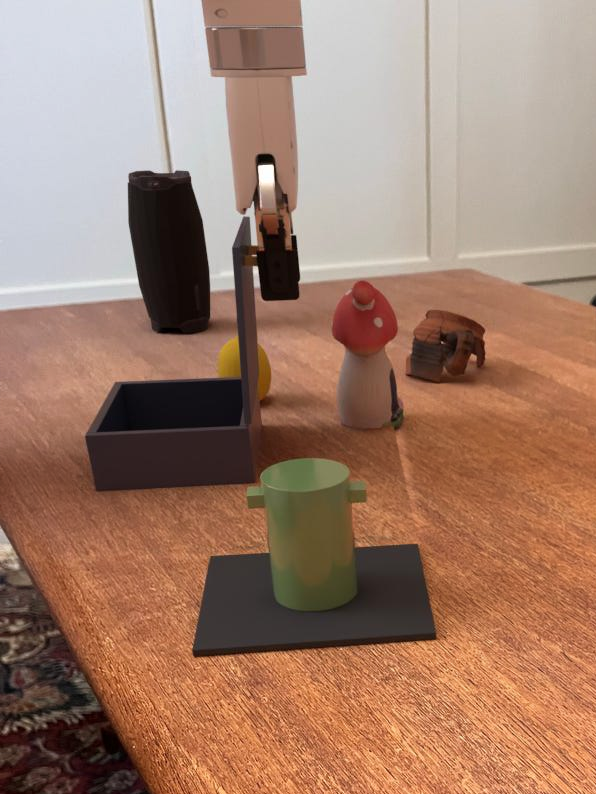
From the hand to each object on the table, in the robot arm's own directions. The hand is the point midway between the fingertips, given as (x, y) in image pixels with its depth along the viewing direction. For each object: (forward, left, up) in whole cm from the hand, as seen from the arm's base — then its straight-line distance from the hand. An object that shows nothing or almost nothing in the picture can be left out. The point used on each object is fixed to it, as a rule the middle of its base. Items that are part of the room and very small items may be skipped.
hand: (281, 288), depth 89 cm
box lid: (-4, 0, -2) cm, 4 cm away
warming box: (-10, 0, -16) cm, 19 cm away
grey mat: (+2, -29, -16) cm, 33 cm away
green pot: (+2, -29, -15) cm, 32 cm away
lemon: (-5, +15, -16) cm, 23 cm away
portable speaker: (-16, +52, -16) cm, 57 cm away
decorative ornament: (+8, +8, -16) cm, 20 cm away
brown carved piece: (+18, +25, -16) cm, 35 cm away
